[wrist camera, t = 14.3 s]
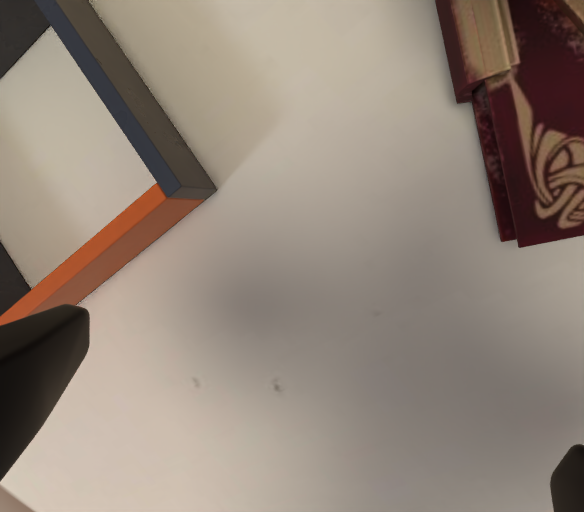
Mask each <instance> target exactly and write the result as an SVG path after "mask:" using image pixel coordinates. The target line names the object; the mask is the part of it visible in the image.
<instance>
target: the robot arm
mask: <svg viewBox="0 0 584 512" xmlns="http://www.w3.org/2000/svg"><path fill="white" fill-rule="evenodd" d="M89 323H90V317H89V312H88V310H87V309H85V308H82V307H79V306H75V305H71V304H63V305H59V306H57V307H54V308H51V309H48V310H45V311H42V312H39V313H36V314H33V315H30V316H27V317H24V318H21V319H18V320H16V321H13V322H10V323H7V324H4V325H1V326H0V481H1V480H2V479H3V477H4V476H5V475H6V473H7V472H8V471H9V469H10V468H11V467H12V466H13V464H14V463H15V462H16V460H17V459H18V458H19V456H20V455H21V454H22V453H23V451H24V450H25V449H26V447H27V446H28V445H29V443H30V442H31V441H32V439H33V438H34V437H35V435H36V434H37V433H38V431H39V430H40V429H41V427H42V426H43V424H44V423H45V421H46V420H47V418H48V417H49V415H50V413H51V412H52V410H53V408H54V407H55V405H56V404H57V402H58V400H59V399H60V397H61V395H62V394H63V392H64V390H65V389H66V387H67V386H68V384H69V382H70V381H71V379H72V377H73V376H74V374H75V372H76V371H77V369H78V368H79V366H80V364H81V363H82V361H83V359H84V358H85V356H86V354H87V352H88V348H89ZM550 488H551V495H552V502H553V509H554V512H584V445H581V444H576V445H574V446H572V447H571V448H570V449H569V450H568V452H567V453H566V455H565V456H564V458H563V459H562V460H561V462H560V463H559V465H558V466H557V467H556V469H555V470H554V472H553V474H552V476H551V481H550Z"/></svg>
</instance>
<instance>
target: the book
mask: <svg viewBox="0 0 584 512" xmlns="http://www.w3.org/2000/svg"><path fill="white" fill-rule="evenodd" d="M435 2H436V6H437V11H438V16H439V20H440V25H441V30H442V35H443V39H444V44H445V49H446V54H447V58H448V63H449V68H450V73H451V77H452V82H453V87H454V92H455V96H456V101H457V104H458V103H464V102H470V101H472V105H473V110H474V115H475V119H476V124H477V129H478V134H479V138H480V143H481V148H482V153H483V158H484V162H485V167H486V172H487V177H488V181H489V186H490V191H491V196H492V201H493V205H494V210H495V215H496V220H497V224H498V229H499V234H500V239H501V241H502V242H505V241H510V240H515V239H517V242H518V247H519V248H521V247H526V246H531V245H536V244H541V243H547V242H552V241H557V240H562V239H567V238H572V237H577V236H582V235H584V0H435Z"/></svg>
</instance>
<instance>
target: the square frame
mask: <svg viewBox="0 0 584 512" xmlns="http://www.w3.org/2000/svg"><path fill="white" fill-rule="evenodd" d="M50 24H51V26H52V27H53V29H54V30H55V32H56V33H57V35H58V36H59V38H60V39H61V41H62V42H63V44H64V45H65V47H66V48H67V50H68V51H69V53H70V54H71V56H72V57H73V59H74V60H75V61H76V63H77V64H78V66H79V67H80V69H81V70H82V72H83V73H84V75H85V76H86V78H87V79H88V81H89V82H90V84H91V85H92V87H93V88H94V90H95V91H96V93H97V94H98V95H99V97H100V98H101V100H102V101H103V103H104V104H105V106H106V107H107V109H108V110H109V112H110V113H111V115H112V116H113V118H114V119H115V121H116V122H117V124H118V125H119V127H120V128H121V129H122V131H123V132H124V134H125V135H126V137H127V138H128V140H129V141H130V143H131V144H132V146H133V147H134V149H135V150H136V152H137V153H138V155H139V156H140V158H141V159H142V161H143V162H144V164H145V165H146V166H147V168H148V169H149V171H150V172H151V174H152V175H153V177H154V178H155V180H156V181H157V183H156V184H155V185H153V186H152V187H151V188H150V189H149V190H148V191H146V192H145V193H144V194H143V195H142V196H141V197H139V198H138V199H137V200H136V201H135V202H134V203H132V204H131V205H130V206H129V207H128V208H127V209H125V210H124V211H123V212H122V213H121V214H120V215H118V216H117V217H116V218H115V219H114V220H113V221H111V222H110V223H109V224H108V225H107V226H106V227H104V228H103V229H102V230H101V231H100V232H98V233H97V234H96V235H95V236H94V237H93V238H91V239H90V240H89V241H88V242H87V243H86V244H84V245H83V246H82V247H81V248H80V249H79V250H77V251H76V252H75V253H74V254H73V255H72V256H70V257H69V258H68V259H67V260H66V261H65V262H63V263H62V264H61V265H60V266H59V267H58V268H56V269H55V270H54V271H53V272H52V273H51V274H49V275H48V276H47V277H46V278H45V279H44V280H42V281H41V282H40V283H39V284H38V285H36V286H35V287H34V288H33V289H32V290H30V289H29V287H28V286H27V284H26V283H25V281H24V279H23V278H22V276H21V275H20V273H19V272H18V270H17V268H16V267H15V265H14V264H13V262H12V261H11V259H10V258H9V256H8V254H7V253H6V251H5V250H4V248H3V247H2V245H1V243H0V326H1V325H4V324H7V323H10V322H13V321H16V320H18V319H21V318H24V317H27V316H30V315H33V314H36V313H39V312H42V311H45V310H48V309H51V308H54V307H57V306H59V305H63V304H71V305H76V304H77V303H78V302H80V301H81V300H82V299H83V298H85V297H86V296H87V295H88V294H89V293H91V292H92V291H93V290H94V289H96V288H97V287H98V286H99V285H101V284H102V283H103V282H104V281H105V280H107V279H108V278H109V277H110V276H112V275H113V274H114V273H115V272H117V271H118V270H119V269H120V268H122V267H123V266H124V265H125V264H126V263H128V262H129V261H130V260H131V259H133V258H134V257H135V256H136V255H138V254H139V253H140V252H141V251H143V250H144V249H145V248H146V247H147V246H149V245H150V244H151V243H152V242H154V241H155V240H156V239H157V238H159V237H160V236H161V235H162V234H163V233H165V232H166V231H167V230H168V229H170V228H171V227H172V226H173V225H175V224H176V223H177V222H178V221H180V220H181V219H182V218H183V217H184V216H186V215H187V214H188V213H189V212H191V211H192V210H193V209H194V208H196V207H197V206H198V205H199V204H200V203H202V202H203V201H204V200H205V199H207V198H208V197H209V196H211V195H212V194H213V193H214V192H216V191H217V189H216V187H215V186H214V184H213V183H212V181H211V180H210V179H209V177H208V176H207V174H206V173H205V171H204V170H203V168H202V167H201V165H200V164H199V162H198V161H197V160H196V158H195V157H194V155H193V154H192V152H191V151H190V149H189V148H188V146H187V145H186V144H185V142H184V141H183V139H182V138H181V136H180V135H179V133H178V132H177V130H176V129H175V128H174V126H173V125H172V123H171V122H170V120H169V119H168V117H167V116H166V114H165V113H164V111H163V110H162V109H161V107H160V106H159V104H158V103H157V101H156V100H155V98H154V97H153V95H152V94H151V93H150V91H149V90H148V88H147V87H146V85H145V84H144V82H143V81H142V79H141V78H140V77H139V75H138V74H137V72H136V71H135V69H134V68H133V66H132V65H131V63H130V62H129V61H128V59H127V58H126V56H125V55H124V53H123V52H122V50H121V49H120V47H119V46H118V44H117V43H116V42H115V40H114V39H113V37H112V36H111V34H110V33H109V31H108V30H107V28H106V27H105V26H104V24H103V23H102V21H101V20H100V18H99V17H98V15H97V14H96V12H95V11H94V10H93V8H92V7H91V5H90V4H89V2H88V1H87V0H0V77H1V76H2V75H3V74H4V73H5V72H6V71H7V70H8V69H9V68H10V67H11V66H12V65H13V64H14V63H15V61H16V60H17V59H18V58H19V57H20V56H21V55H22V54H23V53H24V52H25V51H26V50H27V49H28V48H29V46H30V45H31V44H32V43H33V42H34V41H35V40H36V39H37V38H38V37H39V36H40V35H41V34H42V33H43V32H44V30H45V29H46V28H47V27H48V26H49V25H50Z"/></svg>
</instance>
